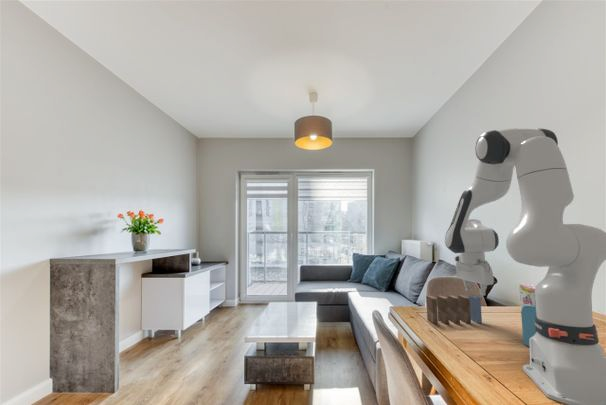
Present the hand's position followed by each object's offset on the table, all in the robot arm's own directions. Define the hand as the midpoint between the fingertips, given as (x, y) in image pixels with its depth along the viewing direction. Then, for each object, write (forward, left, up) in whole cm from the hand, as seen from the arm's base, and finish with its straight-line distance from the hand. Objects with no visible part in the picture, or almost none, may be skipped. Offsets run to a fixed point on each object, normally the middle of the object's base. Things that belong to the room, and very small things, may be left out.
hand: (475, 292), depth 123 cm
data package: (-21, -19, -12) cm, 30 cm away
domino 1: (-9, +16, -12) cm, 21 cm away
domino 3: (-4, +8, -12) cm, 15 cm away
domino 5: (0, 0, -12) cm, 12 cm away
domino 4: (-2, +4, -12) cm, 12 cm away
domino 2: (-6, +12, -12) cm, 18 cm away
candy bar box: (-7, -19, -12) cm, 23 cm away
